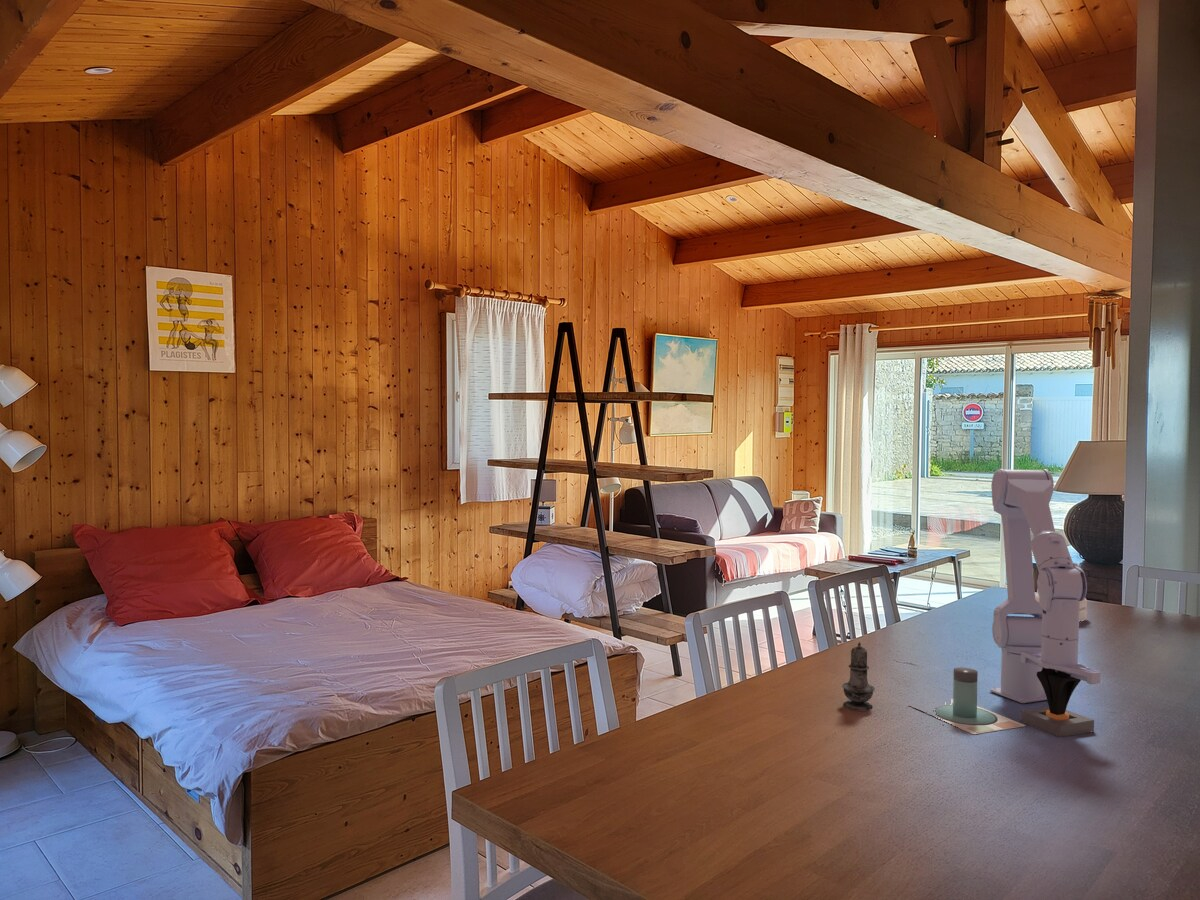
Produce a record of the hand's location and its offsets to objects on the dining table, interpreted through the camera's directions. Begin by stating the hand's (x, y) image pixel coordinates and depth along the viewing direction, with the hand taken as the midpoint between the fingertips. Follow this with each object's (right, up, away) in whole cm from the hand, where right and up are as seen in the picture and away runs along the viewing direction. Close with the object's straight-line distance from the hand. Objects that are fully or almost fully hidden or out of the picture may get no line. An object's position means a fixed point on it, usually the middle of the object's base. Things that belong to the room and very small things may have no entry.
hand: (1057, 713), depth 153 cm
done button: (0, -1, 0) cm, 1 cm away
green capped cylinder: (-14, -2, +5) cm, 15 cm away
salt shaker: (-32, -2, +10) cm, 34 cm away
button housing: (0, -2, 0) cm, 2 cm away
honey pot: (+46, 0, +87) cm, 98 cm away
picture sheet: (-14, -2, +5) cm, 15 cm away
